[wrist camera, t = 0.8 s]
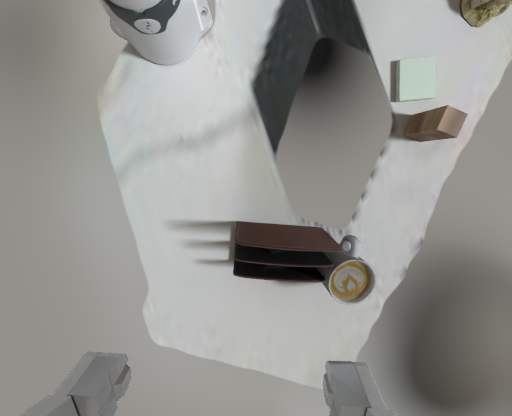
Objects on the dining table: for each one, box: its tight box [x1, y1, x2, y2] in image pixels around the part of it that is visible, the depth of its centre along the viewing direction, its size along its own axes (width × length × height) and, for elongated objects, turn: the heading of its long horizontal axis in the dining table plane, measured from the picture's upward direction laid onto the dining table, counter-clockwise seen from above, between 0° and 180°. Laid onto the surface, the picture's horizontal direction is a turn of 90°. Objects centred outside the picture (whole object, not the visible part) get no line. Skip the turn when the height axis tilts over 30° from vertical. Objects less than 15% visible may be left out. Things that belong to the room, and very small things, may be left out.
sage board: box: [396, 57, 436, 102], centre depth 51 cm, size 8×8×1 cm
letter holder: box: [233, 222, 343, 282], centre depth 48 cm, size 10×20×14 cm, turn 85°
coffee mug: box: [316, 235, 376, 305], centre depth 52 cm, size 13×10×10 cm
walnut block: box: [404, 105, 468, 142], centre depth 49 cm, size 4×4×9 cm
